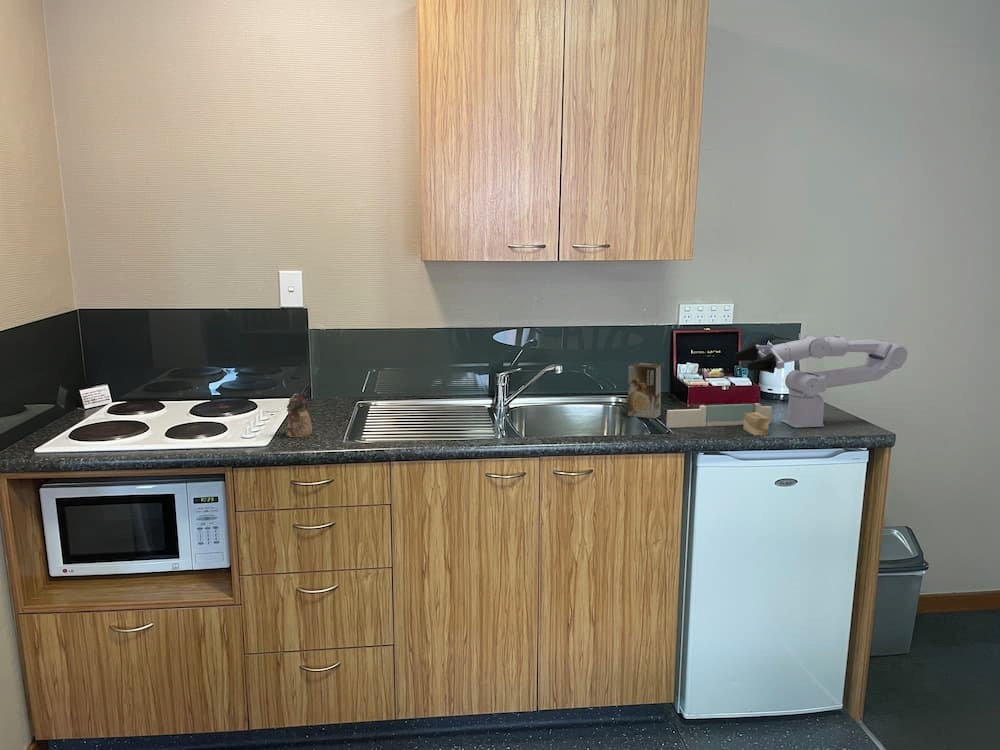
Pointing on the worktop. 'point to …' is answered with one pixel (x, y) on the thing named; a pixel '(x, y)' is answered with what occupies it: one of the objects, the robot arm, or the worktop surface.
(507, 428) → the worktop surface
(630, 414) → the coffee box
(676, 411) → the door frame
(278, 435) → the worktop surface
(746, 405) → the door
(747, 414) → the doorstop
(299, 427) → the figurine
